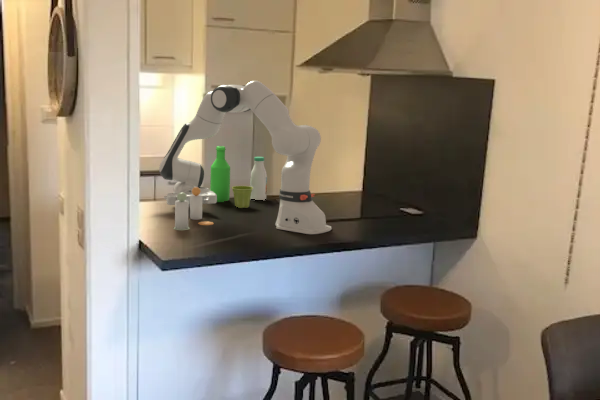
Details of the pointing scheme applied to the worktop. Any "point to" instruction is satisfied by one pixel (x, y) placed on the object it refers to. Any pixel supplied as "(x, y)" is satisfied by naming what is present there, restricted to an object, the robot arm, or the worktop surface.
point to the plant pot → (242, 196)
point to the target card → (200, 224)
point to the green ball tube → (181, 212)
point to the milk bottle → (258, 180)
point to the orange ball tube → (196, 204)
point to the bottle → (220, 176)
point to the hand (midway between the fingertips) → (195, 202)
